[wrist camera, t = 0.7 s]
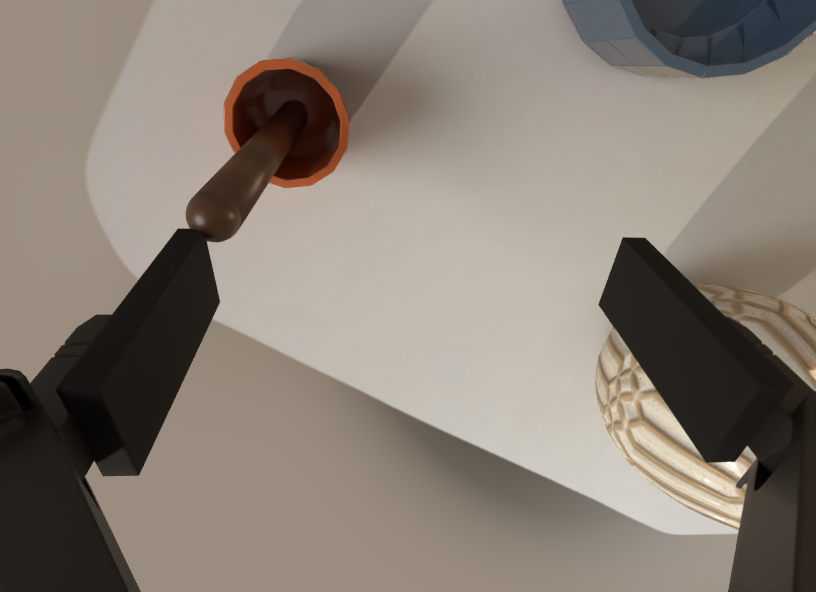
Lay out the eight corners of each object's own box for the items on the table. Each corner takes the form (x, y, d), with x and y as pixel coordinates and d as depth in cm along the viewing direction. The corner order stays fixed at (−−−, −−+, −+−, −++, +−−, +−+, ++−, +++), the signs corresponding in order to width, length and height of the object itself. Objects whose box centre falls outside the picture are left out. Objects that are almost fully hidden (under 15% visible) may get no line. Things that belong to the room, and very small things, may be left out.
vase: (750, 358, 43) (1043, 563, 25) (596, 438, 45) (773, 683, 27) (721, 219, 36) (1108, 373, 18) (539, 321, 37) (731, 553, 20)
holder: (235, 64, 26) (207, 64, 20) (337, 56, 26) (341, 54, 20) (257, 165, 28) (239, 193, 22) (349, 155, 29) (356, 180, 23)
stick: (279, 99, 27) (169, 203, 13) (306, 97, 27) (225, 199, 13) (285, 128, 27) (187, 253, 14) (311, 126, 27) (240, 249, 14)
